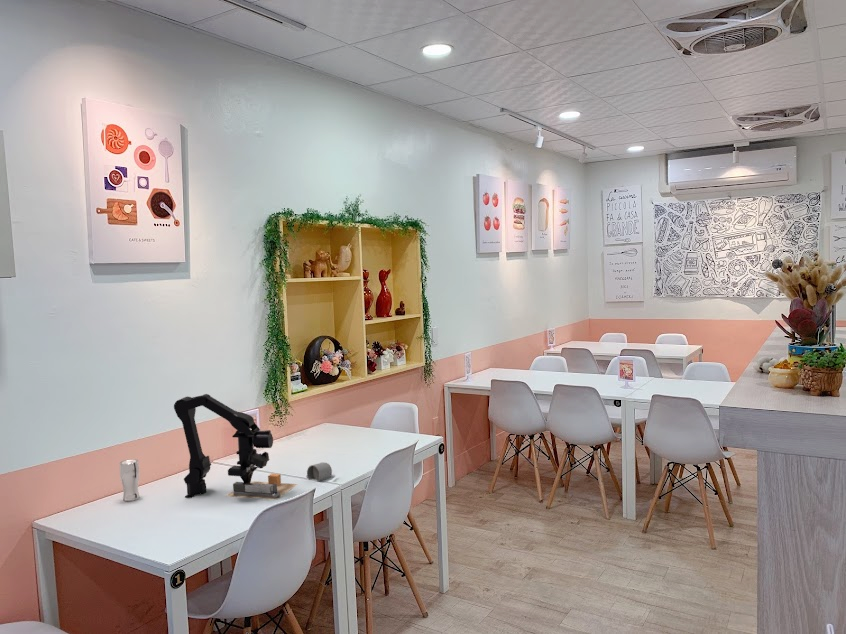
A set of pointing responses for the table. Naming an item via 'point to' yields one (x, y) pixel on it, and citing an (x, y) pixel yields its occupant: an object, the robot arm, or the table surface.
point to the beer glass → (130, 479)
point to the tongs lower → (256, 494)
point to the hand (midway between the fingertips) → (247, 486)
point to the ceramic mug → (319, 471)
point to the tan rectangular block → (274, 479)
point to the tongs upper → (252, 487)
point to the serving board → (281, 488)
